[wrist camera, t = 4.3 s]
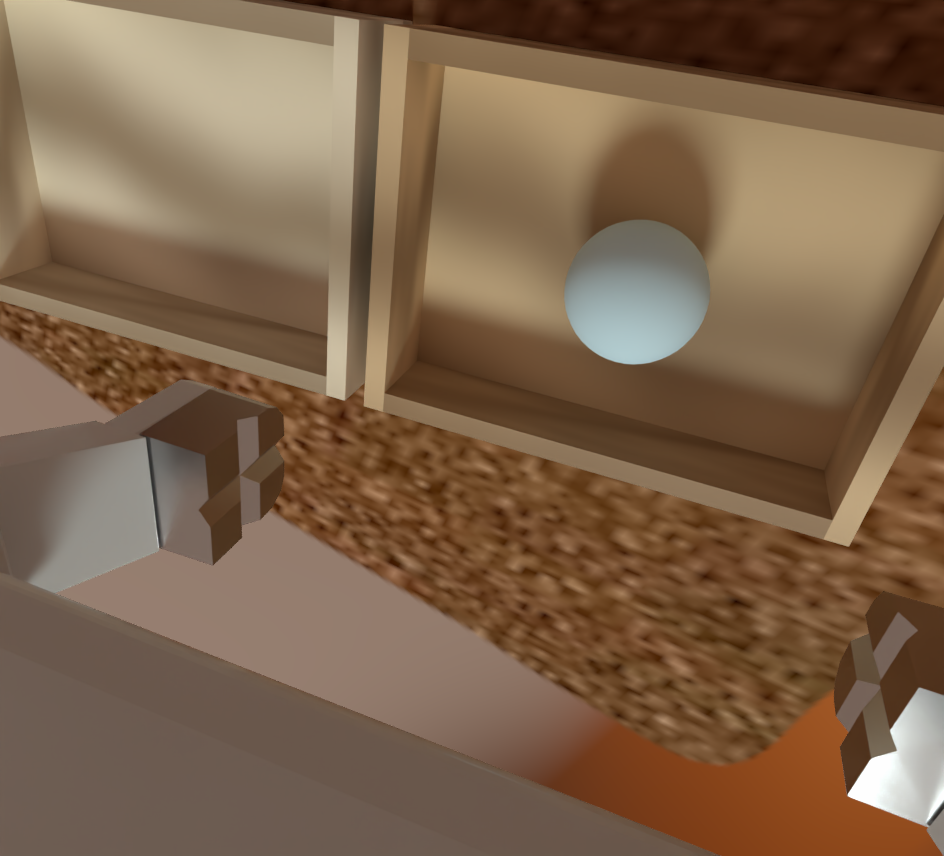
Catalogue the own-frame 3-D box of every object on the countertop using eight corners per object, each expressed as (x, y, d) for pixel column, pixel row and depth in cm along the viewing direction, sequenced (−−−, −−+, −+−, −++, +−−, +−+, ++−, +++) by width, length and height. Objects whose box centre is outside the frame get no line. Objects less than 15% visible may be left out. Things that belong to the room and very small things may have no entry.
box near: (434, 24, 18) (384, 23, 15) (1013, 117, 15) (1065, 134, 13) (405, 365, 23) (363, 405, 20) (836, 482, 20) (848, 546, 18)
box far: (-4, -46, 21) (-105, -56, 18) (412, 21, 18) (358, 19, 16) (55, 269, 26) (-19, 295, 23) (388, 360, 23) (344, 400, 21)
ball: (594, 193, 18) (566, 223, 15) (731, 221, 17) (727, 258, 14) (568, 318, 20) (538, 366, 17) (691, 348, 19) (681, 403, 16)
